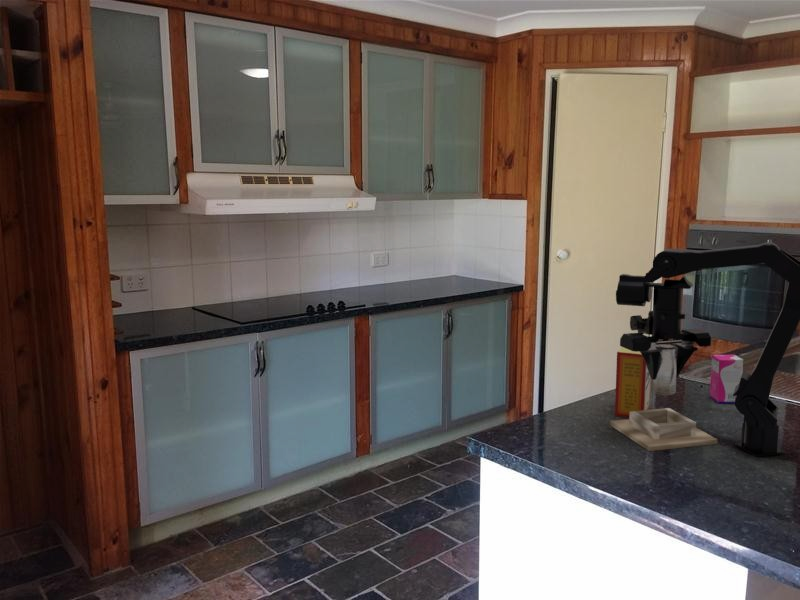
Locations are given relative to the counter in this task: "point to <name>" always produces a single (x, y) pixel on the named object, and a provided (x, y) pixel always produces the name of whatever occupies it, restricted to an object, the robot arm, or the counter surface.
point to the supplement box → (725, 377)
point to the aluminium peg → (666, 371)
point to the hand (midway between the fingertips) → (664, 378)
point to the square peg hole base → (662, 430)
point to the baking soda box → (631, 383)
